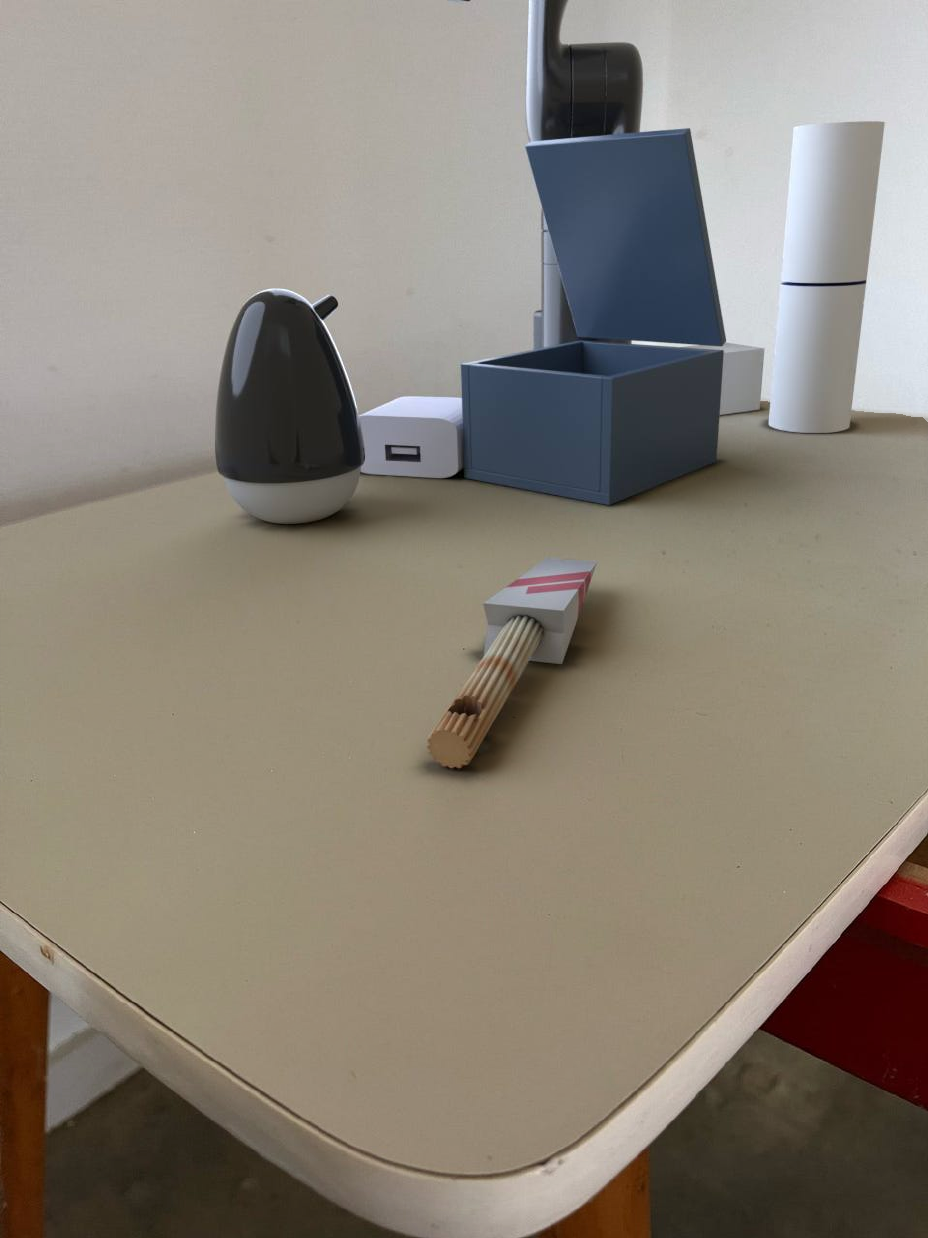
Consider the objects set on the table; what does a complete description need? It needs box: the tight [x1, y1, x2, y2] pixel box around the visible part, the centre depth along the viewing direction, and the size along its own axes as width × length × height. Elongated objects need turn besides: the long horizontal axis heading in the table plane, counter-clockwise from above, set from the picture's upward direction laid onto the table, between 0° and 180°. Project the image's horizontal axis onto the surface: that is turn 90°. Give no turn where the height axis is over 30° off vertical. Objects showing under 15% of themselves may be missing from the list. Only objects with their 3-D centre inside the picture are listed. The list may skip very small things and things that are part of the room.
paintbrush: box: [426, 557, 598, 770], centre depth 46 cm, size 4×3×20 cm
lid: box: [524, 127, 727, 346], centre depth 77 cm, size 16×14×5 cm
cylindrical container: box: [768, 120, 886, 434], centre depth 87 cm, size 7×7×25 cm
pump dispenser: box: [214, 288, 365, 525], centre depth 68 cm, size 10×10×15 cm
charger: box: [358, 395, 464, 479], centre depth 85 cm, size 5×9×15 cm
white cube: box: [684, 341, 765, 416], centre depth 100 cm, size 6×6×6 cm
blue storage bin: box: [460, 340, 724, 506], centre depth 78 cm, size 16×14×9 cm
